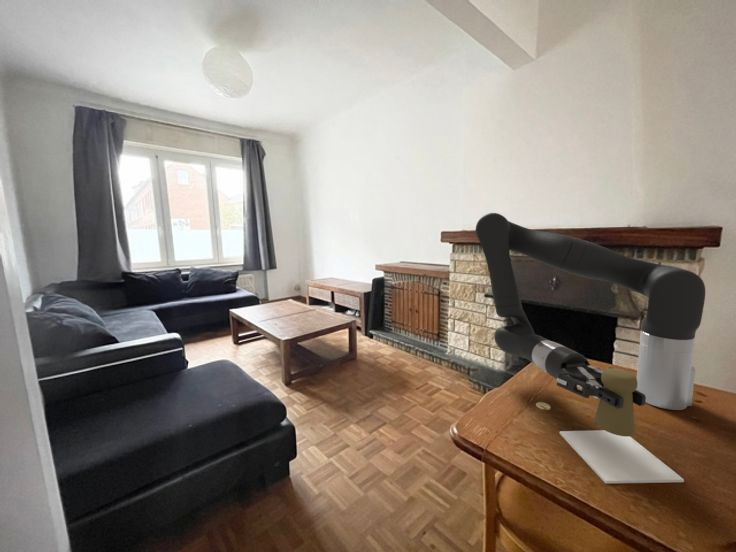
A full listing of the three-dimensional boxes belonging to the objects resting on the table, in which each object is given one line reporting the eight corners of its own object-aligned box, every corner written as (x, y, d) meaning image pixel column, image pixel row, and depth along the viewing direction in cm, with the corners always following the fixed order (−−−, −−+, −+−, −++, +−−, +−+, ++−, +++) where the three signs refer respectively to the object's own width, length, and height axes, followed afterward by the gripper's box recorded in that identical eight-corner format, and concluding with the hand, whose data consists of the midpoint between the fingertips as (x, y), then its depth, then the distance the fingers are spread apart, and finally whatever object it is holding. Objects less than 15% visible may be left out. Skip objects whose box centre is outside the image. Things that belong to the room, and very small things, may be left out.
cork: (586, 417, 60) (591, 365, 58) (614, 414, 60) (620, 363, 59) (613, 437, 54) (619, 380, 52) (644, 435, 54) (651, 378, 53)
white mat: (621, 432, 64) (621, 429, 64) (683, 482, 51) (684, 479, 51) (559, 433, 64) (559, 431, 64) (605, 483, 51) (605, 480, 51)
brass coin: (543, 402, 76) (543, 401, 76) (553, 409, 73) (553, 407, 73) (532, 405, 76) (532, 403, 75) (543, 412, 72) (543, 410, 72)
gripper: (531, 348, 68) (599, 387, 52) (586, 343, 70) (669, 378, 54) (529, 379, 70) (595, 426, 53) (584, 373, 72) (664, 417, 55)
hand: (632, 402), depth 53 cm, fingers closed on cork, 4 cm apart
